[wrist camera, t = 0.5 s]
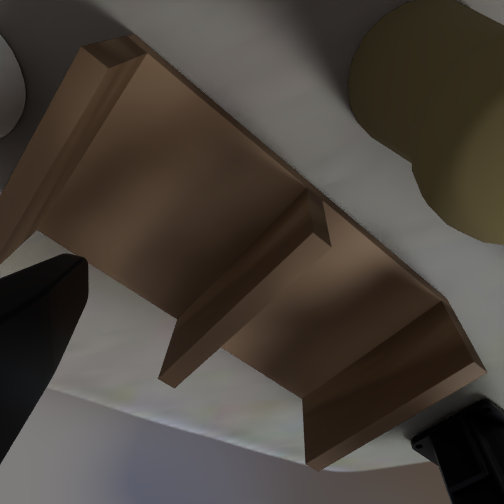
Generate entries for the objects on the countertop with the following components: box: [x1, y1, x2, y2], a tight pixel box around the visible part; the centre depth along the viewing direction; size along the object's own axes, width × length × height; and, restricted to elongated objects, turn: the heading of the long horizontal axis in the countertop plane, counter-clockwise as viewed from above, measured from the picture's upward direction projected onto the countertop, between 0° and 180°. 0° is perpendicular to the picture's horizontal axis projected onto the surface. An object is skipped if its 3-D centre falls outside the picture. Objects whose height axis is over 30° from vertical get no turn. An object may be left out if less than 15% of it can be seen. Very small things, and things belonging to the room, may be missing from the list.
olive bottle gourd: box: [348, 0, 504, 245], centre depth 13 cm, size 6×6×11 cm
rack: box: [0, 34, 487, 471], centre depth 21 cm, size 21×11×6 cm, turn 50°
